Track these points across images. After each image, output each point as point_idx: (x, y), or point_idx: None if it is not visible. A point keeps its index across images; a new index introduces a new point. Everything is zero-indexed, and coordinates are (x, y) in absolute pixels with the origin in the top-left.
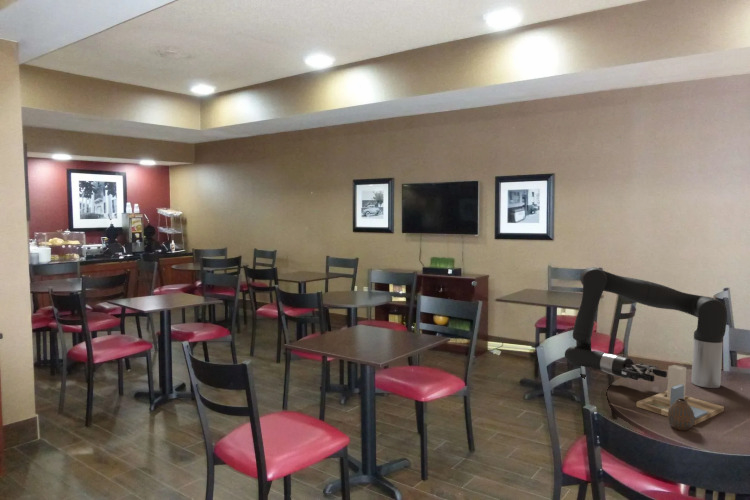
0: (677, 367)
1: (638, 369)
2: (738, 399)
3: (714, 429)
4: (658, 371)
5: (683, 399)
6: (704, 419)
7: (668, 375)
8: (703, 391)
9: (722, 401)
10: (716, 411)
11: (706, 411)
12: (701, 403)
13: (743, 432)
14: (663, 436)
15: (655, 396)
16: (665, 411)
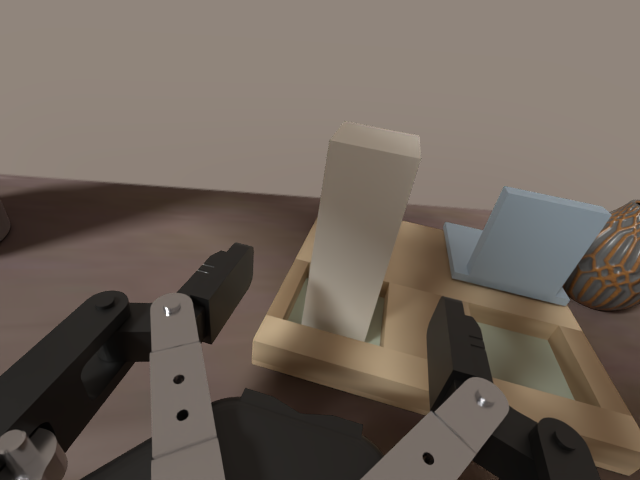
0: (391, 138)
1: (451, 428)
2: (147, 191)
3: None
4: (224, 292)
5: (637, 205)
6: None
7: (401, 220)
8: (73, 248)
9: (197, 216)
10: None
11: (449, 223)
12: None
13: (435, 206)
14: None
15: (427, 376)
16: (572, 319)
